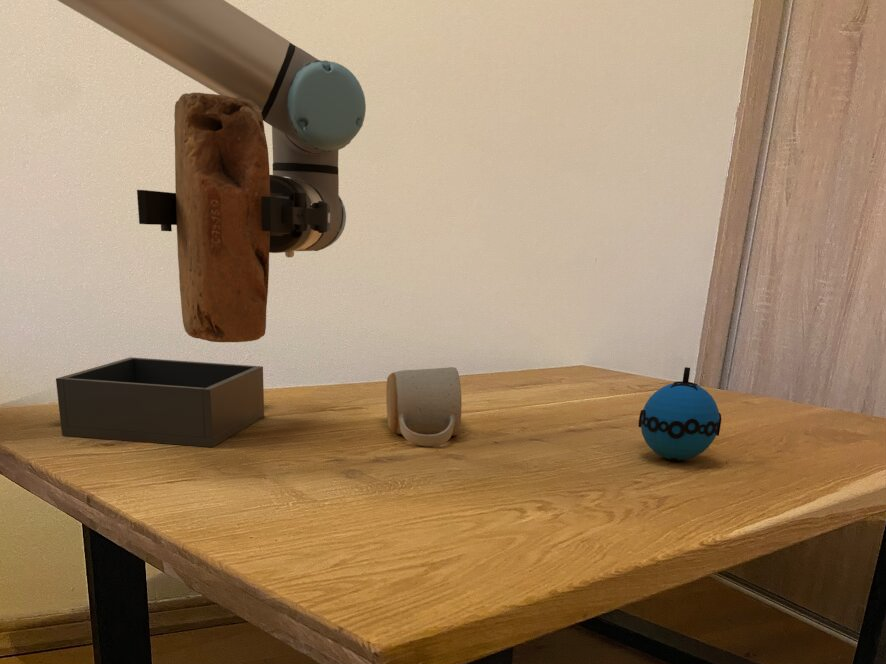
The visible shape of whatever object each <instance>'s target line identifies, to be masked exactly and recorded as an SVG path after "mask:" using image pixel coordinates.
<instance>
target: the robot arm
mask: <svg viewBox="0 0 886 664" xmlns="http://www.w3.org/2000/svg"><path fill="white" fill-rule="evenodd" d="M57 2H59V3H61V4H63V5H65V6H66V7H68V8H70V9H71V10H73V11H75V12H76V13H78V14H80V15H82V16H83V17H85V18H86V19H88V20H90V21H92V22H94V23H95V24H97V25H99V26H100V27H102V28H103V29H106V30H107V31H109V32H111V33H113V34H114V35H116V36H118V37H119V38H122V39H123V40H125V41H126V42H128V43H130V44H131V45H133V46H135V47H137V48H139V49H140V50H142V51H144V52H145V53H147V54H149V55H151V56H152V57H154V58H155V59H158V60H159V61H161V62H162V63H164V64H166V65H167V66H169V67H171V68H173V69H174V70H177V71H178V72H179V73H181V74H183V75H185V76H186V77H188V78H190V79H192V80H193V81H195V82H197V83H198V84H200V85H202V86H203V87H205V88H206V89H209V90H211V91H212V92H213V93H216V94H217V95H224V96H229V97H234V98H242V99H249V100H251V101H253V102H254V103H255V104H256V105H257V106H258V107H259V109H260V111H261V114H262V118H263V122H264V123H265V124H268V125H269V126H271V142H272V143H271V145H272V174H270V197H266V196H261V205H262V231H270V247H269V254H281V253H284V255H285V257H286V258H293V257H294V256H295V252H319V251H322V250H324V249H326V248H328V247H330V246H332V245H333V244H334V243H336V242H337V241H338V240H339V239H340V237H341V236H342V234H343V233H344V230H345V227H346V222H347V212H346V211H347V210H346V206H345V205H344V202H343V200H342V198H341V196H340V193H339V190H340V189H339V188H340V187H339V185H340V183H339V181H340V178H339V177H340V176H339V151H340V150H342V149H344V148H345V147H347V146H348V145H350V143H351V142H352V141H353V139H354V138H356V136H357V135H358V134H359V132H360V130H361V129H362V127H363V125H364V121H365V117H366V109H367V108H366V107H367V106H366V105H367V104H366V96H365V93H364V90H363V88H362V85H361V83H360V81H359V80H358V78H357V77H356V75H354V73H353V72H352V71H351V70H350V69H349V68H347V67H346V66H344V65H343V64H341V63H338V62H335V61H329V60H325V59H324V60H321V59H318V58H316V57H315V56H314V55H312V54H310V53H309V52H307V51H305V50H304V49H302V48H300V47H298V46H297V45H295V44H293V42H292V43H291V41H289V40H288V39H286V38H285V37H284V36H282V35H280V34H278V33H277V32H275V31H274V30H272V29H271V28H269V27H267V26H266V25H264V24H262V23H261V22H259V21H258V20H256V19H255V18H253V17H251V16H250V15H248V14H247V13H245V12H244V11H243V10H241V9H240V8H237V7H236V6H234V5H233V4H231V3H229V2H228V1H226V0H57ZM136 196H137V211H138V224H139V225H151V226H153V225H156V226H158V225H159V226H160V232H173V227H172V226H177V223H176V192H170V191H169V192H168V191H167V192H166V191H159V190H147V189H136Z"/></svg>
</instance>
